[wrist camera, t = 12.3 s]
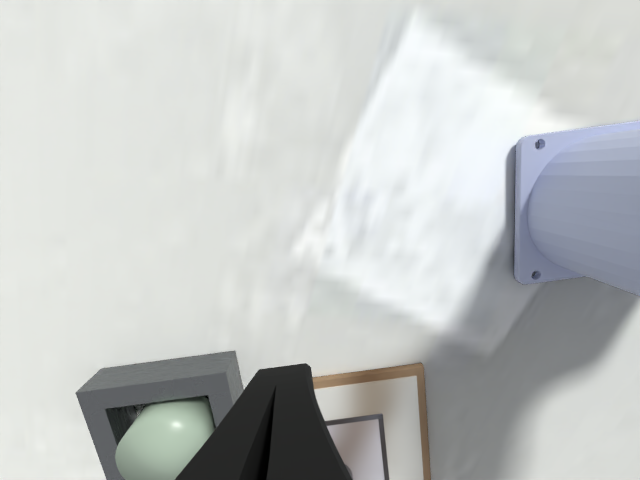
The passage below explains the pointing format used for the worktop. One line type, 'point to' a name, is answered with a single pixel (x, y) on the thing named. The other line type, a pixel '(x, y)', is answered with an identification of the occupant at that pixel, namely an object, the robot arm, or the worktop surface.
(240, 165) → the worktop surface
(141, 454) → the button
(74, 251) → the worktop surface
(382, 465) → the wooden framed board
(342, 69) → the worktop surface
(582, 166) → the robot arm
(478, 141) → the worktop surface
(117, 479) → the button housing
